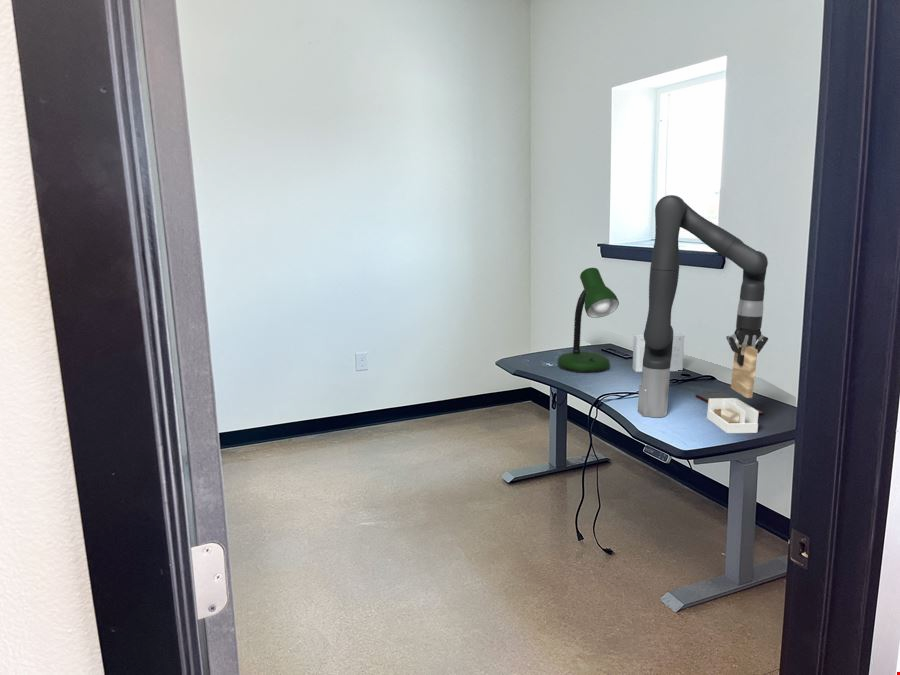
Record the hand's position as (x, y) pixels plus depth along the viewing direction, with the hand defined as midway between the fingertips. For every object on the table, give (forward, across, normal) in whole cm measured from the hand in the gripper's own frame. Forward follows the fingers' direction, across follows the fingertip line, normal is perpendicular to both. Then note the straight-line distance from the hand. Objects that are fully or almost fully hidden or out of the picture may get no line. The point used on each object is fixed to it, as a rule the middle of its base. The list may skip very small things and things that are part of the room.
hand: (744, 365), depth 215 cm
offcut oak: (+21, -4, -3) cm, 21 cm away
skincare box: (+21, -1, +71) cm, 74 cm away
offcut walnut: (+21, -4, +3) cm, 22 cm away
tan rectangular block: (+10, 0, 0) cm, 10 cm away
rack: (+21, -2, 0) cm, 21 cm away
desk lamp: (+21, -31, +75) cm, 84 cm away
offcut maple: (+18, -4, -3) cm, 19 cm away
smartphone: (+22, +7, +21) cm, 31 cm away
